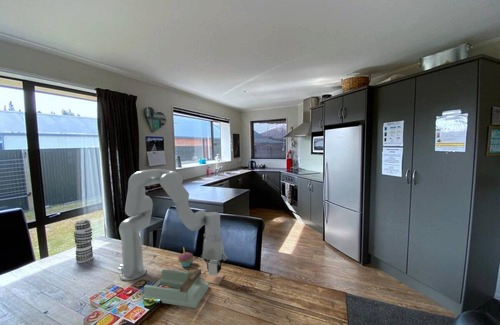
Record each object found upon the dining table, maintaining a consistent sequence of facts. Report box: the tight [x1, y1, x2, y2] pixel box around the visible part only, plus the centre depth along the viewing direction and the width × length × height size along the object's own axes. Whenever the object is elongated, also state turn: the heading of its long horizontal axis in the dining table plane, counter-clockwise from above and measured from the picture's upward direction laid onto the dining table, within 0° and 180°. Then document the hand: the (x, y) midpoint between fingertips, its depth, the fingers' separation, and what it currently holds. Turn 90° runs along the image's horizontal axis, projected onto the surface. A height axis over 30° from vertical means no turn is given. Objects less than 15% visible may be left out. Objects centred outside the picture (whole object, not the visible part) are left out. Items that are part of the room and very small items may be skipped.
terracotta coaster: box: [203, 273, 225, 286], centre depth 109 cm, size 8×8×1 cm
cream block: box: [207, 260, 221, 276], centre depth 109 cm, size 4×4×6 cm
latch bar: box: [180, 268, 202, 292], centre depth 96 cm, size 3×14×5 cm, turn 168°
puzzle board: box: [142, 269, 210, 309], centre depth 98 cm, size 26×14×7 cm, turn 78°
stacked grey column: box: [73, 219, 94, 264], centre depth 132 cm, size 9×9×25 cm
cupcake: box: [178, 246, 194, 268], centre depth 123 cm, size 9×8×12 cm
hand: (214, 270), depth 109 cm, fingers closed on cream block, 4 cm apart
